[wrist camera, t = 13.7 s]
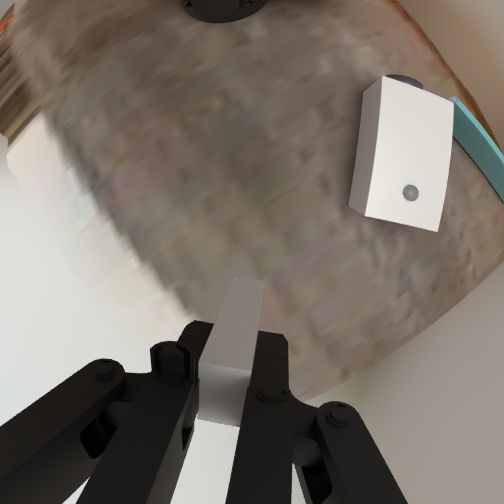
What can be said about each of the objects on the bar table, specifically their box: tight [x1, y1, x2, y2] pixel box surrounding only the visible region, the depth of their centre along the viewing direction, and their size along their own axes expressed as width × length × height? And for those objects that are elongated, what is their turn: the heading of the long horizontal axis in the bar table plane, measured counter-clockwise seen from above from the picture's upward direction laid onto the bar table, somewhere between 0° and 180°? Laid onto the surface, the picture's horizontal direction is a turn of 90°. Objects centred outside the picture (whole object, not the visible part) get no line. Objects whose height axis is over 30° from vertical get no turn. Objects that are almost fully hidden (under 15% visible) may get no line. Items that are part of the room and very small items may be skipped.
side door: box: [446, 96, 504, 202], centre depth 31 cm, size 24×2×8 cm, turn 55°
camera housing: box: [348, 75, 454, 232], centre depth 33 cm, size 20×11×10 cm, turn 172°
